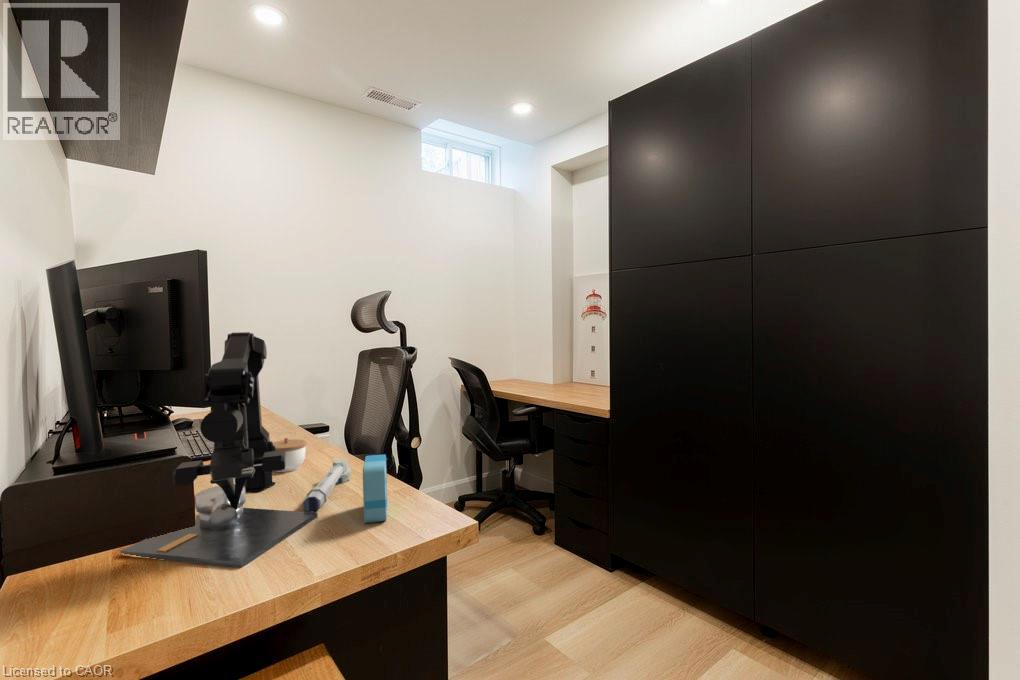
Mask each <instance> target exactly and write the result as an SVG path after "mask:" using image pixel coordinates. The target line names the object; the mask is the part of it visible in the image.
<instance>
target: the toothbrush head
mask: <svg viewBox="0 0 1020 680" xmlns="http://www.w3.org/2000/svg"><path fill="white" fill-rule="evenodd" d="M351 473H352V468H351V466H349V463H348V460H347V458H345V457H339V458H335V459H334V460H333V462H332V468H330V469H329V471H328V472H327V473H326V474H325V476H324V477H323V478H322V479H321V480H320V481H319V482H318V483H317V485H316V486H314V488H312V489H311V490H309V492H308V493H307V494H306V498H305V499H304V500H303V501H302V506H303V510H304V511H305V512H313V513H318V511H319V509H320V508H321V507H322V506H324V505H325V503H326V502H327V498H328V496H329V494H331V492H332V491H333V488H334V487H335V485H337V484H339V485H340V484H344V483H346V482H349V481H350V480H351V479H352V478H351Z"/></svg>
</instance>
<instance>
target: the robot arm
mask: <svg viewBox="0 0 1020 680" xmlns="http://www.w3.org/2000/svg"><path fill="white" fill-rule="evenodd" d="M223 348H224V350H223V351H224V353H223V355H222V357H221V358H222V359H221V360H220V361H218V362H216V363H213V364H212V365H211V366H210V367H209V370H208V372H207V373H206V374H205V375H204V377H203V385H202V392H201V398H200V399H201V401H200V406H201V407H208V406H209V407H210V412H209V413H207V414H206V415H205V416H204V417H203V419H202V420H201V422H200V426H199V427H200V432H201V435H202V437H203V438H204V439H206V440H207V441H209V442H212V443H213V450H212V454H211V459H210V463H208V464H204V462H203V460H195V461H194V460H193V461H186V462H181V463H180V464H179V465H178V466H177V467H176V468H175V469H174V470H173V471H172V476H171V477H172V485H173V486H177V485H186V484H190V483H191V484H192V483H193V482H194V481H196V479H197V478H198V476H208V475H210V478H211V480H210V481H209V482H210V484H212V485H214V484H216V486H220V487H221V488H222V490H223V491H224V493H225V494H226V496H227V498H228V500H229V502H230V504H231V506H232V507H233V508H234V509H235V510H237V508H238V504H239V501H240V497H241V494H242V490H243V487H244V486H245V492H253V493H259V492H262V491H264V490H266V489H268V488H270V487H272V486H274V485H276V481H273V472H276V471H279V470H283V469H285V466H286V453H285V452H284V451H283V450H280V451H276V449H275V446H274V445H273V442H274V441H271V439H270V433H269V431H268V430H267V429H266V428H265V427H264V425H263V422H262V407H261V393H260V380H259V379H260V378H259V375H260V373H261V371H262V369H263V367H264V364H265V360H267V352H268V351H267V344H266V342H265V340H264V339H262V338H260V337H257V336H255V335H254V333H253V332H252V333H251V332H249V331H245V332H244V331H243V332H242V331H241V332H240V331H239V332H231V333H228V334H227V339H225V340H224V347H223ZM234 484H235V488H234Z"/></svg>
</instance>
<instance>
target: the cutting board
mask: <svg viewBox="0 0 1020 680" xmlns="http://www.w3.org/2000/svg"><path fill="white" fill-rule="evenodd" d="M236 512H237V516H238V517H237V521H236V523H235V525H234V526H233V527H232V528H230V529H229V530H227V531H223V532H218V531H215V530H213V529H212V528H211V527H210V525H209V517H210V514H203V513H198V514H197V515H195V516H196V524H195V526H193V527H189V528H185V529H181V530H178V531H175V532H170V533H167V534H164V535H160V536H157V537H152V538H149V537H148V538H149V539H147V538H145V539H142V540H141V541H139V542H136V543H135V544H132V545H130V546H127V547H126V548H124V549H121V550H120V551H119V552H120V554H121V553H124V554H130V555H136V556H141V557H149V558H156V559H164V560H163V561H166V560H170V561H169V562H176V561H178V563H187V564H198V565H206V566H207V565H209V566H219V567H228V568H229V567H230V568H237V569H239V568H240V569H242V568H244V567H245V566H246V565H248V564H249V563H251V562H252V561H255V559H257V558H258V557H260V556H261V555H263V554H265V553H266V552H267V551H269V550H270V549H272V548H274V547H275V546H277V545H278V544H279V543H281V542H283V541H285V539H286V540H287V538H289V537H290V536H291V535H293V534H294V533H296V532H298V531H299V530H301V529H302V528H303V527H305V526H307V525H308V524H310V523H312V522H313V521H314V520H317V518H318V512H307V511H296V510H295V511H294V510H280V509H268V508H267V509H266V508H253V507H250V508H249V507H244V504H243V505H242V506H240V507H238V508H237V510H236ZM156 559H155V560H156Z"/></svg>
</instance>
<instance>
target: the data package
mask: <svg viewBox="0 0 1020 680" xmlns="http://www.w3.org/2000/svg"><path fill="white" fill-rule="evenodd" d="M387 481H388V477H387V455H386V454H373V455H371V454H370V455H366V456H365V458H364V462H363V467H362V496H363V497H362V498H363V500H362V501H363V521H364V523H365V524H368V523H369V524H370V523H377V522H378V523H379V522H385V521H387V517H388V516H387V515H388V482H387Z"/></svg>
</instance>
